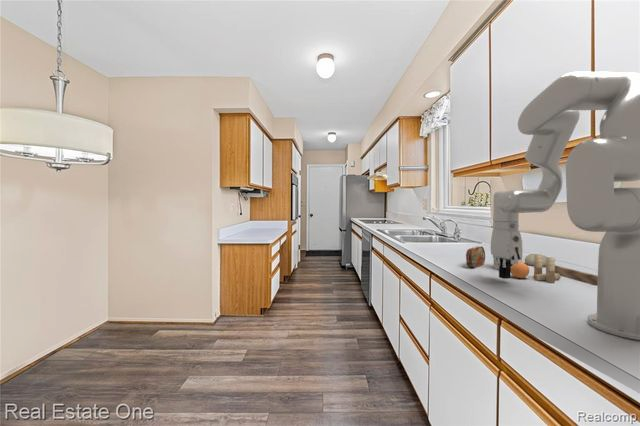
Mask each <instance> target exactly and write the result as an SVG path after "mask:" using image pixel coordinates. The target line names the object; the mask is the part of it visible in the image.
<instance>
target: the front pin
mask: <svg viewBox="0 0 640 426" xmlns="http://www.w3.org/2000/svg"><path fill="white" fill-rule="evenodd" d="M533 279H534V280H535V281H537V282H541V281H545V282H546V273H542V274H535V275H534V274H533ZM557 280H561V276H560V274H558V273H555V281H557Z"/></svg>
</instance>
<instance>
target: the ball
mask: <svg viewBox="0 0 640 426" xmlns="http://www.w3.org/2000/svg"><path fill="white" fill-rule="evenodd" d="M529 274H530V267H529V265H528V264H527V263H526V262H525V263H524V262H523V261H522V262H518V264H513V265H512V267H511V276H513V277H514V278H517V279H525V278H526V277H528V276H529Z"/></svg>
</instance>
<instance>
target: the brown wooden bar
mask: <svg viewBox="0 0 640 426" xmlns="http://www.w3.org/2000/svg"><path fill="white" fill-rule="evenodd" d="M555 273H558V274H560V277H561V276H562V277H565V278H568V279H573V280H575V281H579V282H583V283H586V284H590V285H593V286H597V285H598V274H597V275H596V274H592V273H588V272H584V271H580V270H577V269H576V270H575V269H571V268H568V267H563V266H559V265H556V264H555Z"/></svg>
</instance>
